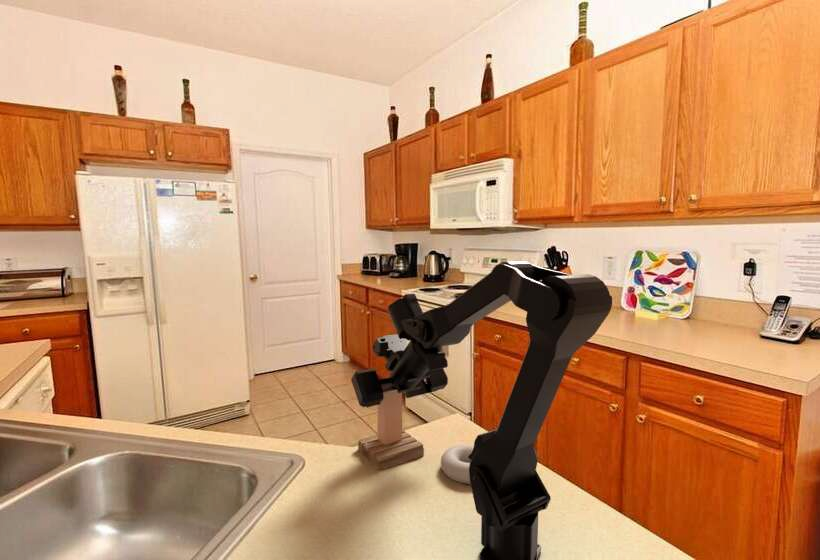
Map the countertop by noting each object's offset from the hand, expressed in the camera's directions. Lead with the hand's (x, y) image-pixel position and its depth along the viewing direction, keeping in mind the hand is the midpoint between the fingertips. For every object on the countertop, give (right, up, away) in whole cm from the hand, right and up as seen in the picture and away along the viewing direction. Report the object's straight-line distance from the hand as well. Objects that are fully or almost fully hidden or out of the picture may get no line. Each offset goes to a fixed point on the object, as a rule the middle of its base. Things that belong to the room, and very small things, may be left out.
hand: (386, 400), depth 81 cm
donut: (+15, -11, -8) cm, 20 cm away
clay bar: (+1, -8, 0) cm, 8 cm away
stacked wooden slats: (+1, -10, -1) cm, 10 cm away
